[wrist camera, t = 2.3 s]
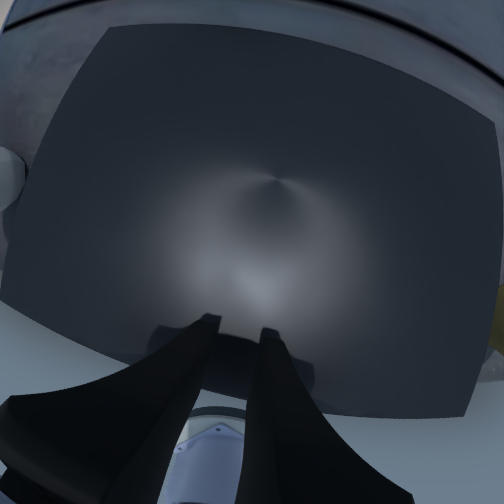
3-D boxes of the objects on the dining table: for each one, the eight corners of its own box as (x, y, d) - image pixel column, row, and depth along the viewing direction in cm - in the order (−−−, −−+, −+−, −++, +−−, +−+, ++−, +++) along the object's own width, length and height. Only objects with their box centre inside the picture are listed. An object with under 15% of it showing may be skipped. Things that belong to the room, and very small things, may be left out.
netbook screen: (455, 411, 11) (464, 417, 10) (8, 299, 12) (-2, 299, 11) (487, 127, 13) (494, 122, 12) (113, 35, 14) (109, 26, 13)
